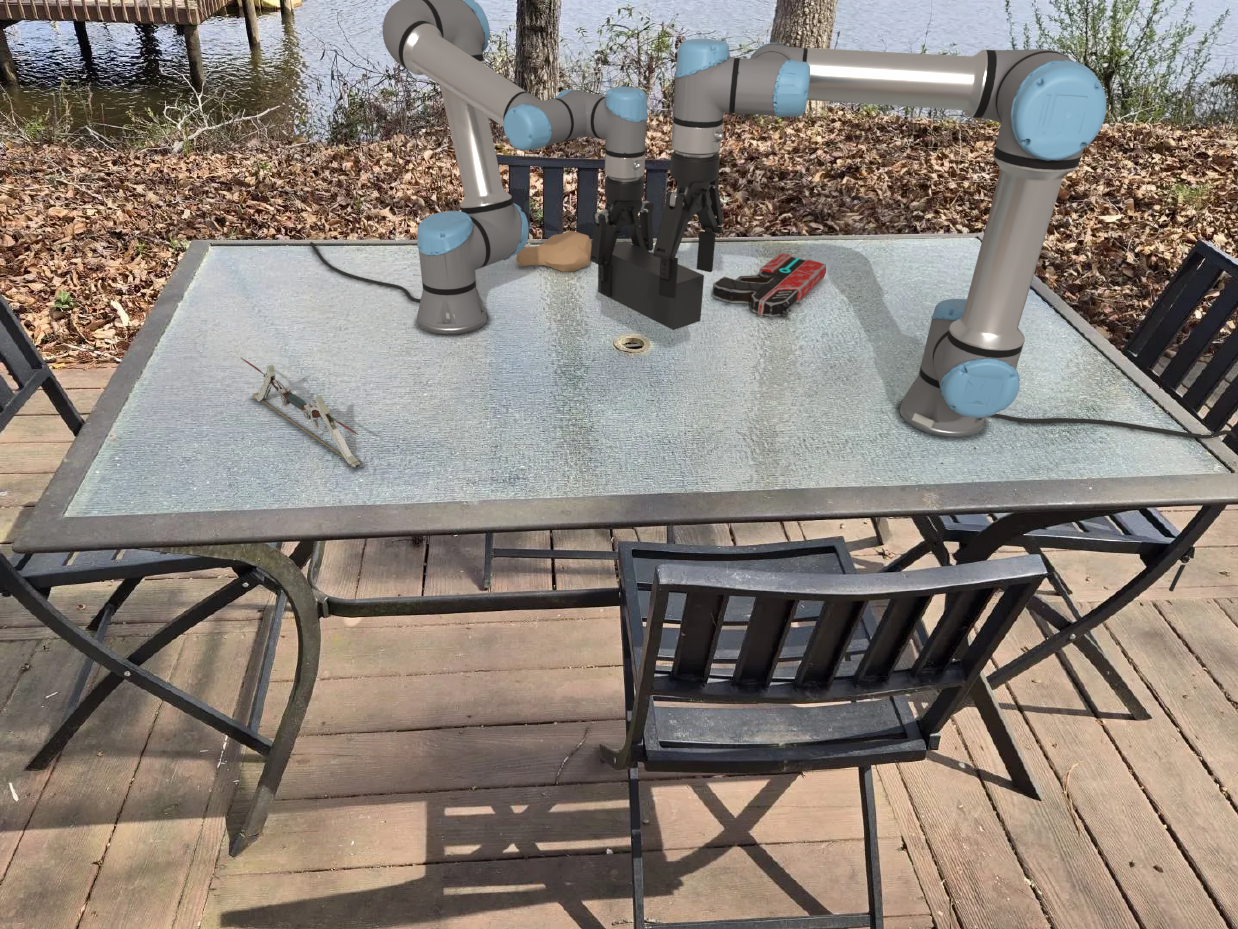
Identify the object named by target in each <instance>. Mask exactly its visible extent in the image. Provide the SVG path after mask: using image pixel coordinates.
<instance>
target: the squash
mask: <svg viewBox="0 0 1238 929" xmlns="http://www.w3.org/2000/svg"><path fill="white" fill-rule="evenodd" d="M591 246H592V240H591V239H590V236H589V235H587V234H584V233H581V232H578V231H575V230H568V231H565V232H562V233H557V234H553V235H551V236H549V238H547V239H546V240H545V241H544V242H543V243H541V244H540V245H534V246H524V248H523V250H522V251H521V252H520V253H518V254H516V260H515V261H516V263H517V265H518V266H519V267H521V268H522V267H528V266H546V267H550V268H552V269H554V270H556V271H559V272H561V273H564V272H565V273H566V272H567V273H569V272H577V271H578V270H579V271H580V270H581V269H583V268H585V267H586V266H589V265H590V263H591V262H592V261H590V255H591Z"/></svg>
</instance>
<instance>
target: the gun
mask: <svg viewBox="0 0 1238 929" xmlns="http://www.w3.org/2000/svg"><path fill="white" fill-rule="evenodd" d="M826 273H827V264H826V263H823V262H820V261H816V260H812V259H802V258H799V257H795V256H793V255H792V254H791V253H784V252H780V253H778V254H777V255H775V256H774V257H773V258H771V259H770V260H768V261H767V262H766V263H765V264H763V265H762V266H761V267H760V269H759V271H758V273H757V274H756V275H753V274H752V275H751V274H750V275H740V276H738V277H737V278H735V279H734V278H731V277H727V276H722V277H720V279H717V281H715V282H713V283H712V291H711V297H713V298H714V299H716V300H719V301H723V302H727V303H730V304H750V305H749V308H750V310H751V312H753V313H755V314H757V315H758V316H760V317H761V316H765V317H770V318H771V317H777V316H780V317H784V318H787V317H788V315H789V311H788V310H790V309H791V308H792V307H793V306H794V305H795V304H798V303H799V302H801V301H802V300H803V299H804V298H805V297H807V296H808V295H809V294H810V293H811V292H812V291H813V290H814V289H815V287H817V285H818V284H820V283H821V282H822V280H823V279H824V278H825V276H826Z"/></svg>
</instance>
